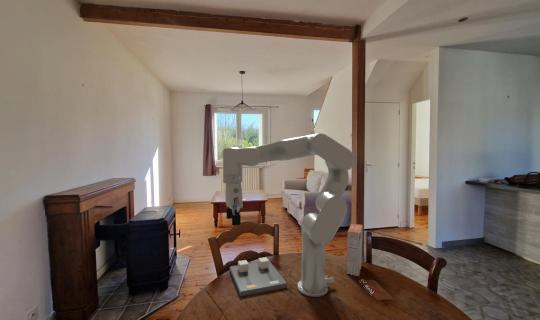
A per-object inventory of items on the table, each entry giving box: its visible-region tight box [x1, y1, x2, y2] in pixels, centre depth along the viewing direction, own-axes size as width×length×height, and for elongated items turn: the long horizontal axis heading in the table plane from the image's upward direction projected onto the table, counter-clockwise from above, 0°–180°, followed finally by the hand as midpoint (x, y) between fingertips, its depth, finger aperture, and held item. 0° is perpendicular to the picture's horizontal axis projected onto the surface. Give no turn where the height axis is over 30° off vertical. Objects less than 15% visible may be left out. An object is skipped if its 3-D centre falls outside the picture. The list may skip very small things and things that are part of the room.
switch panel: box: [229, 260, 288, 297], centre depth 110 cm, size 20×22×2 cm
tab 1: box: [237, 259, 250, 272], centre depth 113 cm, size 4×4×4 cm
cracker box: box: [346, 223, 364, 277], centre depth 120 cm, size 14×6×21 cm, turn 154°
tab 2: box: [257, 256, 270, 269], centre depth 116 cm, size 4×4×4 cm
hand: (233, 221), depth 97 cm, fingers open, 9 cm apart
